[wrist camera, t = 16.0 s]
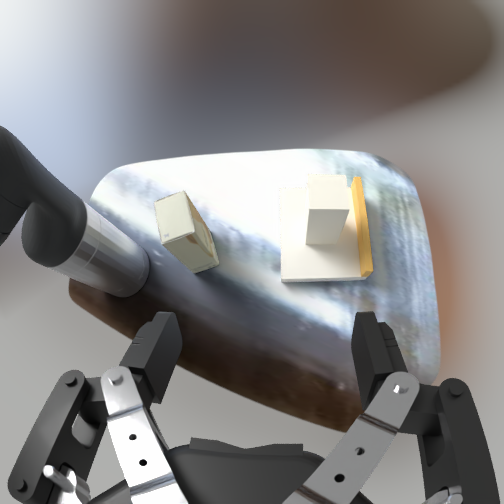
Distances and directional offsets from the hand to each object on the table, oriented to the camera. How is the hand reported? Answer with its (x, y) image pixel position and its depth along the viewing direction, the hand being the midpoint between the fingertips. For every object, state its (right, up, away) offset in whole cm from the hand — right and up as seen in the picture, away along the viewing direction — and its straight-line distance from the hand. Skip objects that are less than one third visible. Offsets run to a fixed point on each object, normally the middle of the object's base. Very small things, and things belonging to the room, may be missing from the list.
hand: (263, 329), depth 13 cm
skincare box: (-8, +3, +33) cm, 34 cm away
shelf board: (+10, +6, +31) cm, 33 cm away
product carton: (+9, +6, +29) cm, 31 cm away
